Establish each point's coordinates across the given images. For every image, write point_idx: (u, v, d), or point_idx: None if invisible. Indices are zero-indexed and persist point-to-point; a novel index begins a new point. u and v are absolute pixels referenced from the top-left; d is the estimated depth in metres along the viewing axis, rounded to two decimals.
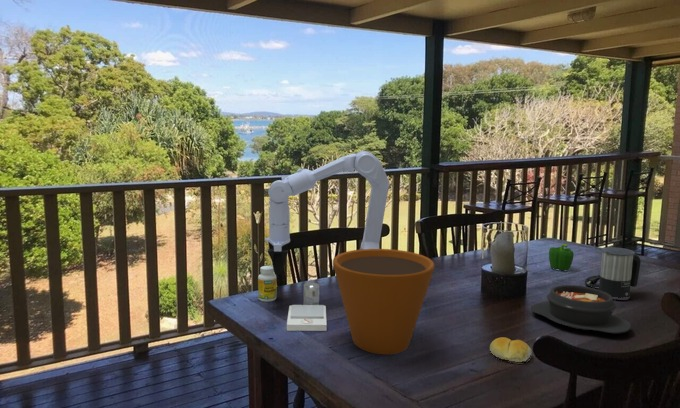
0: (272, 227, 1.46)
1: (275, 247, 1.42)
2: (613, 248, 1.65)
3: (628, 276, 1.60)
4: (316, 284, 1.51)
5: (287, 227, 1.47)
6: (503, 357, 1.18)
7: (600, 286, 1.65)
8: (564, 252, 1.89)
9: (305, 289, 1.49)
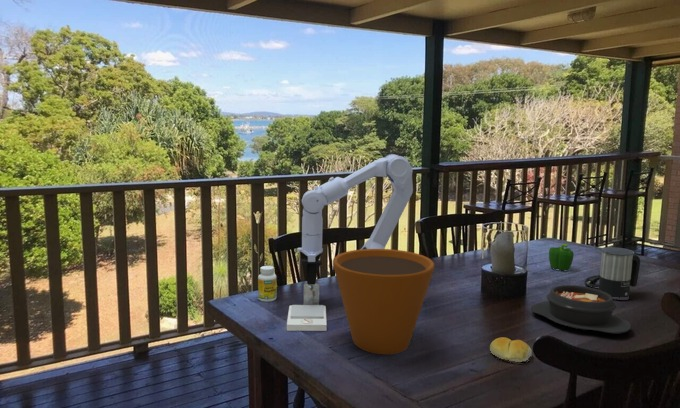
0: (305, 237, 1.46)
1: (309, 257, 1.42)
2: (613, 248, 1.65)
3: (628, 276, 1.60)
4: (316, 284, 1.51)
5: (320, 237, 1.47)
6: (503, 357, 1.18)
7: (600, 286, 1.65)
8: (564, 252, 1.89)
9: (305, 289, 1.49)
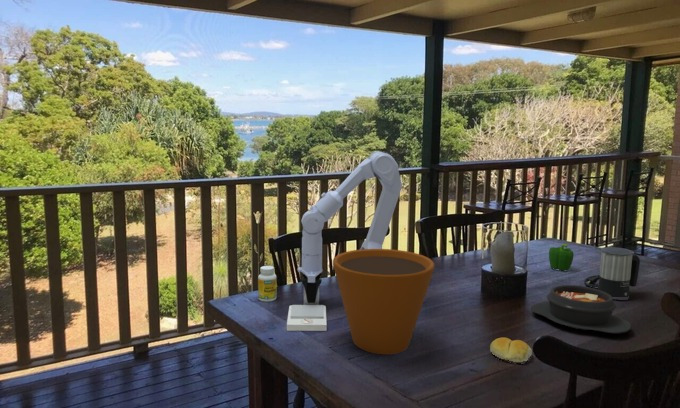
0: (305, 257, 1.47)
1: (309, 278, 1.43)
2: (612, 248, 1.65)
3: (627, 276, 1.60)
4: None
5: (320, 257, 1.48)
6: (503, 357, 1.18)
7: (599, 286, 1.65)
8: (564, 252, 1.89)
9: None
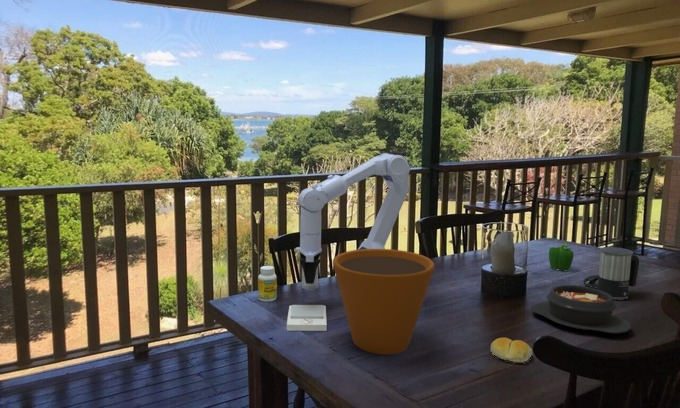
0: (303, 236, 1.42)
1: (307, 257, 1.38)
2: (611, 248, 1.66)
3: (626, 276, 1.60)
4: None
5: (319, 237, 1.43)
6: (504, 357, 1.17)
7: (598, 286, 1.65)
8: (564, 252, 1.89)
9: None
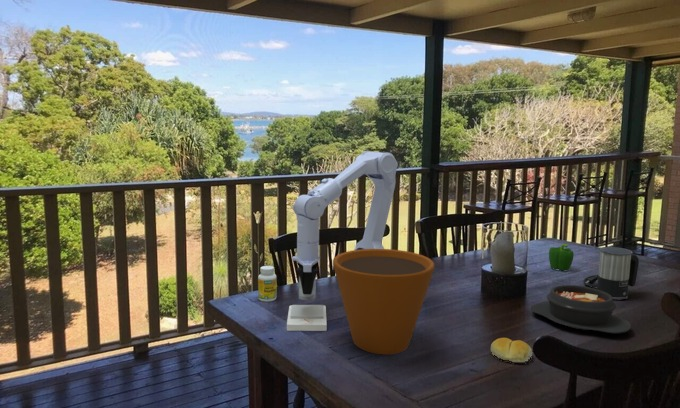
0: (301, 245, 1.36)
1: (305, 267, 1.31)
2: (611, 248, 1.66)
3: (626, 275, 1.60)
4: None
5: (317, 245, 1.37)
6: (504, 357, 1.17)
7: (598, 286, 1.65)
8: (564, 252, 1.89)
9: (300, 280, 1.38)
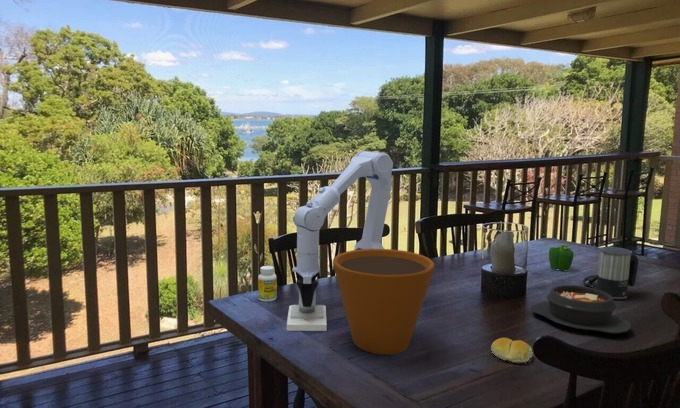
0: (301, 256, 1.36)
1: (305, 279, 1.32)
2: (611, 248, 1.66)
3: (625, 275, 1.60)
4: None
5: (316, 256, 1.37)
6: (504, 358, 1.17)
7: (597, 285, 1.65)
8: (564, 252, 1.89)
9: (300, 293, 1.39)
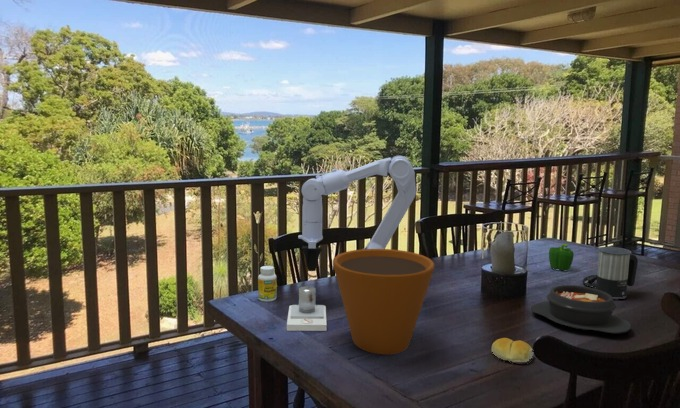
0: (306, 224, 1.48)
1: (310, 244, 1.44)
2: (610, 247, 1.66)
3: (624, 275, 1.60)
4: (312, 288, 1.40)
5: (320, 225, 1.49)
6: (505, 358, 1.17)
7: (597, 285, 1.65)
8: (564, 252, 1.89)
9: (300, 293, 1.39)
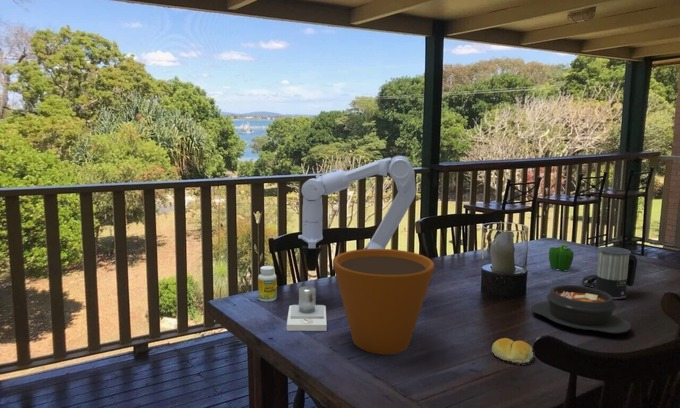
0: (306, 224, 1.49)
1: (309, 244, 1.44)
2: (609, 247, 1.66)
3: (624, 275, 1.61)
4: (312, 288, 1.40)
5: (320, 224, 1.49)
6: (505, 358, 1.17)
7: (596, 285, 1.65)
8: (564, 252, 1.89)
9: (300, 293, 1.39)
